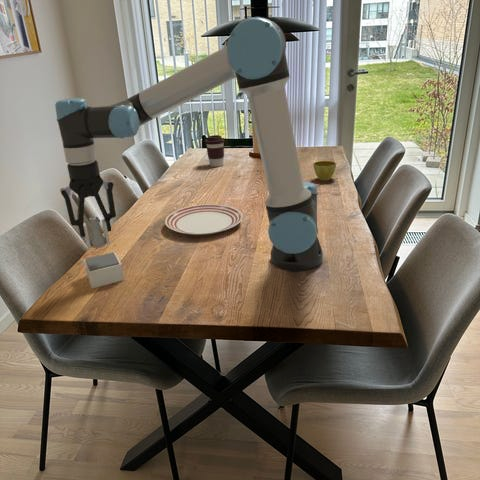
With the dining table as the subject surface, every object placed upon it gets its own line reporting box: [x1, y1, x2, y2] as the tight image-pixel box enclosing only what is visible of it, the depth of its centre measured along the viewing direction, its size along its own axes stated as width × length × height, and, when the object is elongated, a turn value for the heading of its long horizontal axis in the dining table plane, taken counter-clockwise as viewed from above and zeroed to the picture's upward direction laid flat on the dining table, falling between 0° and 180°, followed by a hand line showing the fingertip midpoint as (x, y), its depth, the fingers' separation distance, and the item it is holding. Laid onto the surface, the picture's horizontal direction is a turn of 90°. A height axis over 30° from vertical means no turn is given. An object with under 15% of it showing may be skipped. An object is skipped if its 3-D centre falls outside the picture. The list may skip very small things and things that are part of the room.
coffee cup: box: [204, 134, 225, 168], centre depth 237 cm, size 10×10×15 cm
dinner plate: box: [164, 203, 243, 236], centre depth 164 cm, size 27×27×3 cm
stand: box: [83, 252, 125, 289], centre depth 131 cm, size 9×9×5 cm
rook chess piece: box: [87, 216, 107, 249], centre depth 126 cm, size 4×4×8 cm
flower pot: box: [312, 160, 337, 182], centre depth 205 cm, size 10×10×7 cm
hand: (98, 244), depth 127 cm, fingers closed on rook chess piece, 4 cm apart
